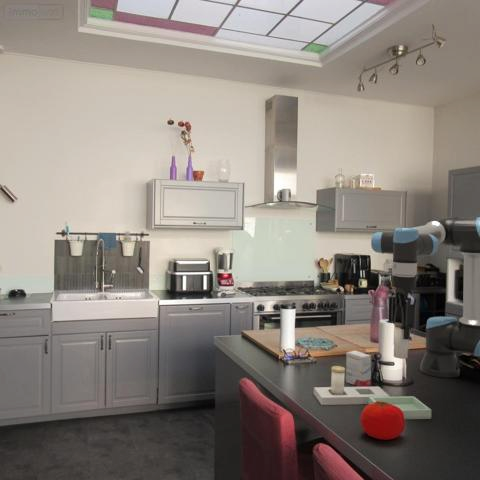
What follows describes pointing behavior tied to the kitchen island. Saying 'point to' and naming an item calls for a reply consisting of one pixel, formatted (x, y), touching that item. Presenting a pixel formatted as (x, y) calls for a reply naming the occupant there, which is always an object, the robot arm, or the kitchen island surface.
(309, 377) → the kitchen island surface
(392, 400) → the parts tray
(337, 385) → the socket strip
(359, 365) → the ink box
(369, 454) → the kitchen island surface
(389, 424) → the tomato
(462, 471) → the kitchen island surface
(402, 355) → the cylinder
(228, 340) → the kitchen island surface
